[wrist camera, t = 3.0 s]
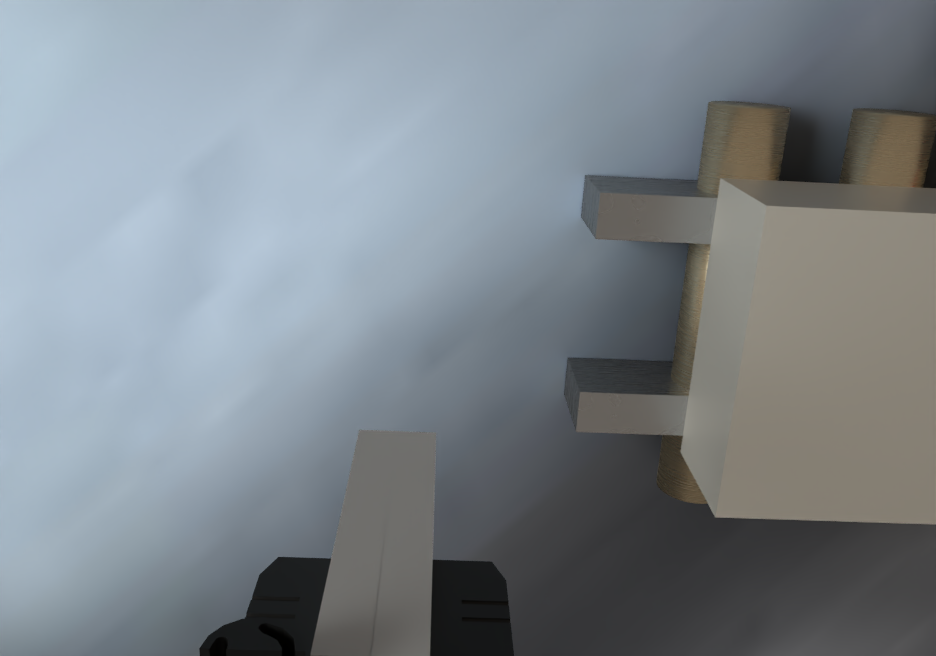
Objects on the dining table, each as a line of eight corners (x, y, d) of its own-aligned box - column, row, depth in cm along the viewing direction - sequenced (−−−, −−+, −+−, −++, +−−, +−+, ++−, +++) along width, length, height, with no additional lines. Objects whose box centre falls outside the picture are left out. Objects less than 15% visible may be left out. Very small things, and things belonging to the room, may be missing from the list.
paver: (720, 178, 26) (766, 205, 23) (1115, 197, 27) (1226, 227, 23) (680, 452, 29) (715, 517, 26) (1036, 464, 30) (1122, 530, 26)
